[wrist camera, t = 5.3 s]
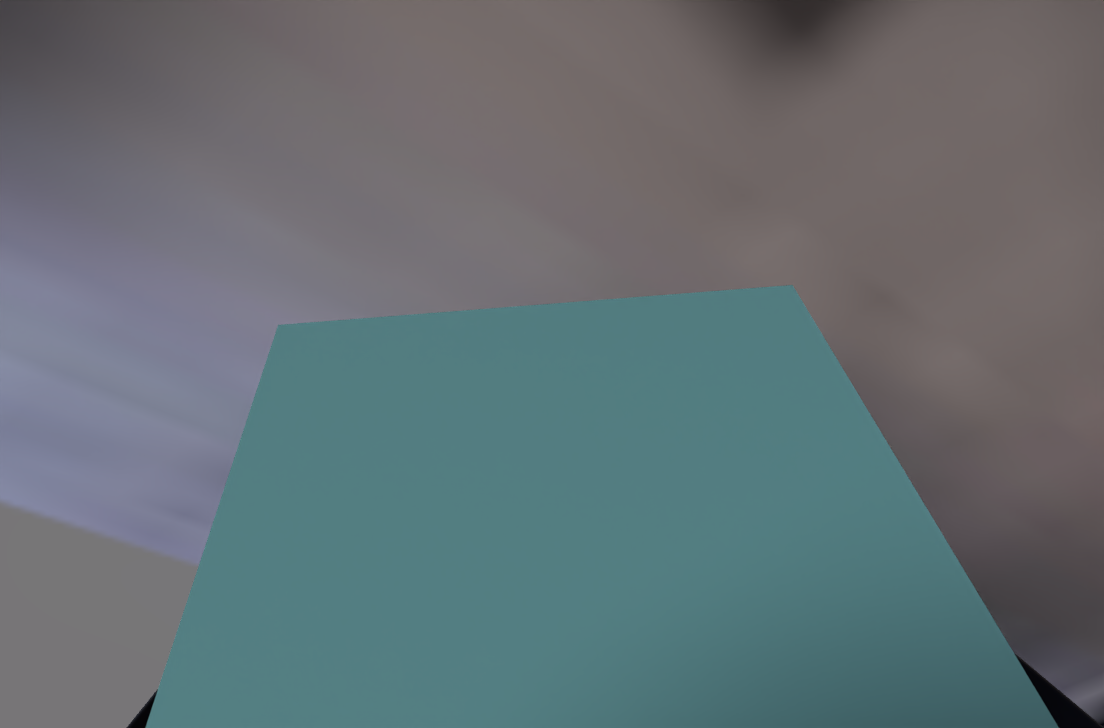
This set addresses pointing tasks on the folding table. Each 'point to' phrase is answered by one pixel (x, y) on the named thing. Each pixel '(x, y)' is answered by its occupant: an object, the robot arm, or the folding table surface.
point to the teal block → (578, 535)
